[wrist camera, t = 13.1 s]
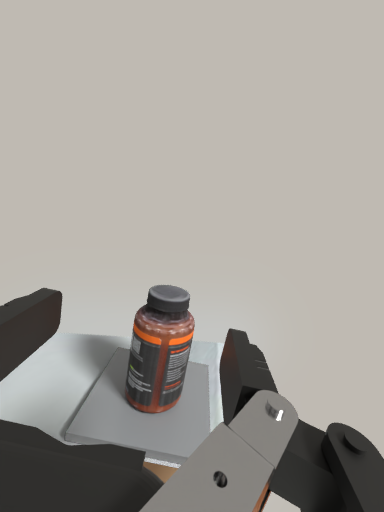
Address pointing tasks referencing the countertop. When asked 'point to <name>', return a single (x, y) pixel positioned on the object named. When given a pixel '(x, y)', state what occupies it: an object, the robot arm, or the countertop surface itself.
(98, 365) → the countertop surface
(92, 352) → the countertop surface
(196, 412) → the plate
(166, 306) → the supplement bottle
